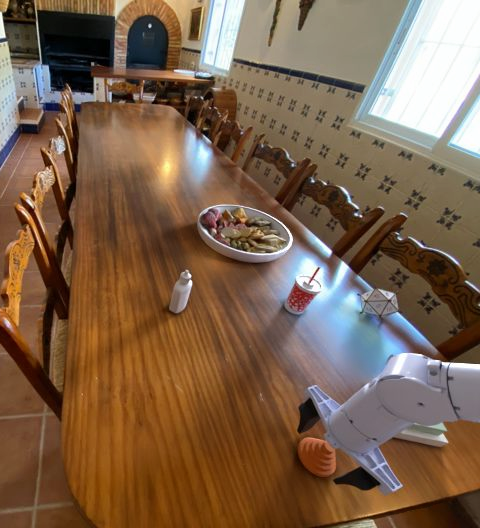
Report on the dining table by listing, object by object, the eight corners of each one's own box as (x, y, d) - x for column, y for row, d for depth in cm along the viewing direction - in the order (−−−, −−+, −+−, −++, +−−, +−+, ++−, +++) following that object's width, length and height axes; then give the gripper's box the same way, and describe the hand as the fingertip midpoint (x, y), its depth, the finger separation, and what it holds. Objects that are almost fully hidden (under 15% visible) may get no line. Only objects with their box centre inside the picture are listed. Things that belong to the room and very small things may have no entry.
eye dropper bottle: (191, 309, 74) (202, 274, 67) (172, 315, 72) (181, 279, 65) (183, 297, 77) (192, 262, 70) (164, 302, 75) (171, 267, 68)
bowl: (276, 223, 110) (285, 204, 105) (295, 275, 87) (307, 255, 82) (195, 211, 113) (200, 192, 108) (194, 258, 91) (199, 237, 86)
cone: (338, 480, 48) (355, 471, 45) (302, 472, 48) (316, 462, 45) (326, 443, 52) (341, 432, 49) (293, 436, 53) (306, 424, 50)
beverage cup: (294, 319, 74) (322, 278, 65) (276, 302, 78) (299, 262, 69) (311, 312, 76) (339, 272, 67) (292, 296, 80) (316, 256, 72)
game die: (353, 319, 81) (346, 285, 79) (385, 310, 80) (379, 276, 78) (378, 332, 72) (370, 294, 70) (415, 323, 71) (408, 284, 69)
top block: (439, 435, 53) (447, 431, 51) (397, 427, 53) (404, 422, 52) (417, 397, 58) (424, 392, 57) (379, 390, 59) (385, 385, 57)
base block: (440, 447, 53) (449, 443, 52) (387, 436, 54) (394, 431, 53) (412, 398, 60) (419, 393, 59) (365, 389, 61) (371, 384, 59)
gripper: (305, 379, 44) (271, 418, 53) (400, 492, 34) (338, 517, 43) (339, 366, 47) (301, 406, 55) (438, 469, 36) (372, 498, 45)
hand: (319, 453), depth 49 cm, fingers open, 7 cm apart
